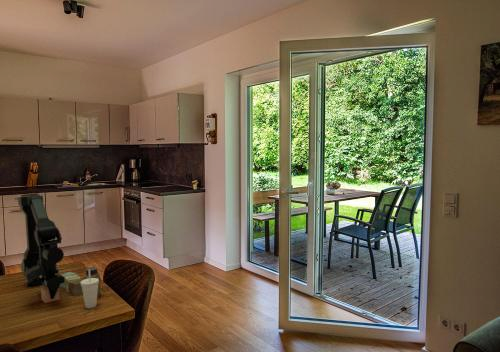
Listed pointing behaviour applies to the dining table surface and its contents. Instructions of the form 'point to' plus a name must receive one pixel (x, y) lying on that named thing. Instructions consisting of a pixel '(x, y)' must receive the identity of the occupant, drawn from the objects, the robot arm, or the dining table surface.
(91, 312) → the dining table surface
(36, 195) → the robot arm
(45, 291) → the terracotta block
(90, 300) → the smoothie
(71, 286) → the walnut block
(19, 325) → the dining table surface
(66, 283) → the maple block
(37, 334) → the dining table surface
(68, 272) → the slate block
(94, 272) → the supplement bottle
